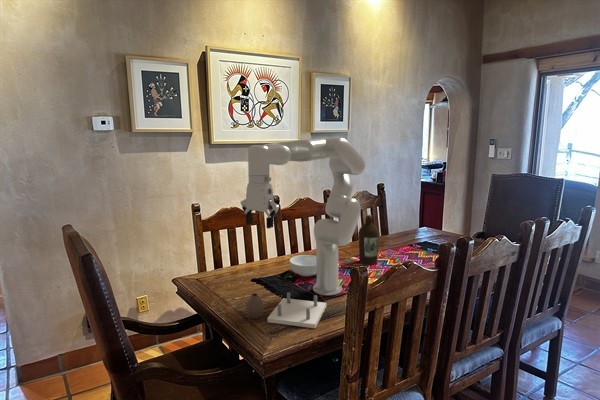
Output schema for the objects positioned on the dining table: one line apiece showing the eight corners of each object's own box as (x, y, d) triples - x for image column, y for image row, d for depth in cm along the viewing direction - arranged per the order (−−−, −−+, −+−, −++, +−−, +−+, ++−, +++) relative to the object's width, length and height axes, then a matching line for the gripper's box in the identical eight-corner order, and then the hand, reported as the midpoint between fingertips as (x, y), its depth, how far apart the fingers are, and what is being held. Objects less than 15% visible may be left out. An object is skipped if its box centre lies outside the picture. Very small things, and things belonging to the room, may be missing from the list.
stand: (283, 301, 161) (282, 288, 160) (326, 306, 156) (326, 293, 155) (267, 322, 144) (267, 308, 143) (315, 328, 139) (315, 313, 138)
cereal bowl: (321, 281, 182) (321, 266, 181) (286, 279, 186) (285, 264, 184) (326, 268, 199) (326, 255, 197) (293, 266, 202) (293, 253, 201)
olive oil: (355, 259, 212) (356, 213, 207) (374, 258, 213) (375, 212, 209) (361, 265, 201) (362, 218, 197) (381, 264, 203) (382, 217, 198)
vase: (265, 311, 152) (264, 290, 151) (264, 320, 146) (263, 298, 144) (247, 312, 152) (246, 291, 151) (245, 321, 145) (244, 298, 144)
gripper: (284, 180, 140) (284, 227, 143) (247, 177, 150) (248, 221, 153) (271, 182, 134) (271, 231, 137) (234, 179, 144) (235, 224, 146)
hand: (259, 226), depth 145 cm, fingers open, 9 cm apart
